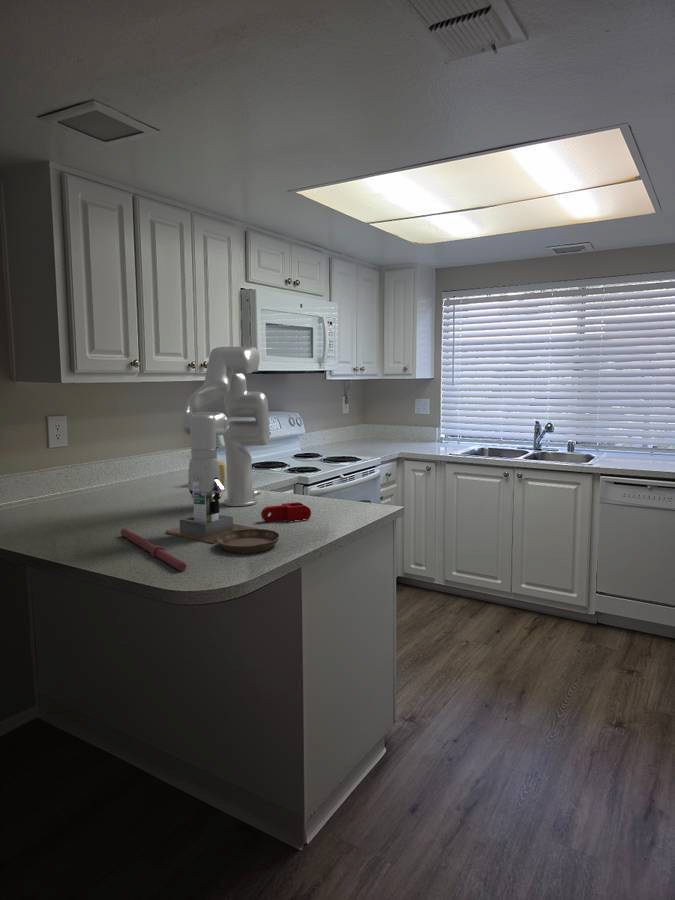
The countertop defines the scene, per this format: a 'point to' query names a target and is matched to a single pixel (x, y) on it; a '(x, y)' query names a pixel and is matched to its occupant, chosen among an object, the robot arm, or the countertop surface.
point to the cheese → (222, 472)
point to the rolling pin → (154, 550)
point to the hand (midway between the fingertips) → (206, 511)
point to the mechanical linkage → (286, 512)
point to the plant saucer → (248, 540)
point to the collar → (206, 528)
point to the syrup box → (202, 506)
